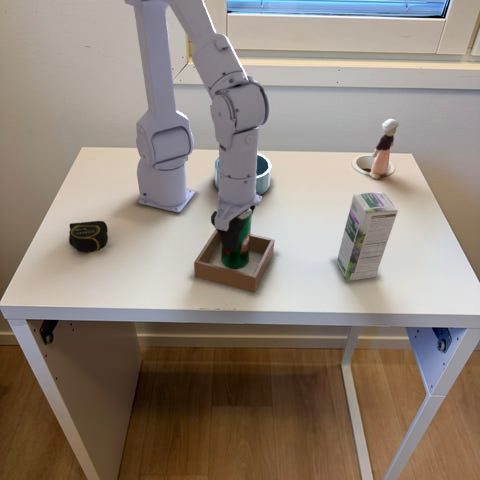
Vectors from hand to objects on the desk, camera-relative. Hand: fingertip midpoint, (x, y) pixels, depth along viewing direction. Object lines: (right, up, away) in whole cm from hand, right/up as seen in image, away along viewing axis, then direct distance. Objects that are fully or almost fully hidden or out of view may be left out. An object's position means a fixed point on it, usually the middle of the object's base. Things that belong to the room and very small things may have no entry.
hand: (235, 240), depth 81 cm
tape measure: (-28, +1, +7) cm, 29 cm away
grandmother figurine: (+33, +20, +28) cm, 48 cm away
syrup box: (+22, -5, +5) cm, 23 cm away
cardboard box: (0, -4, +4) cm, 6 cm away
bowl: (+1, +17, +23) cm, 29 cm away
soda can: (0, -3, +4) cm, 5 cm away
